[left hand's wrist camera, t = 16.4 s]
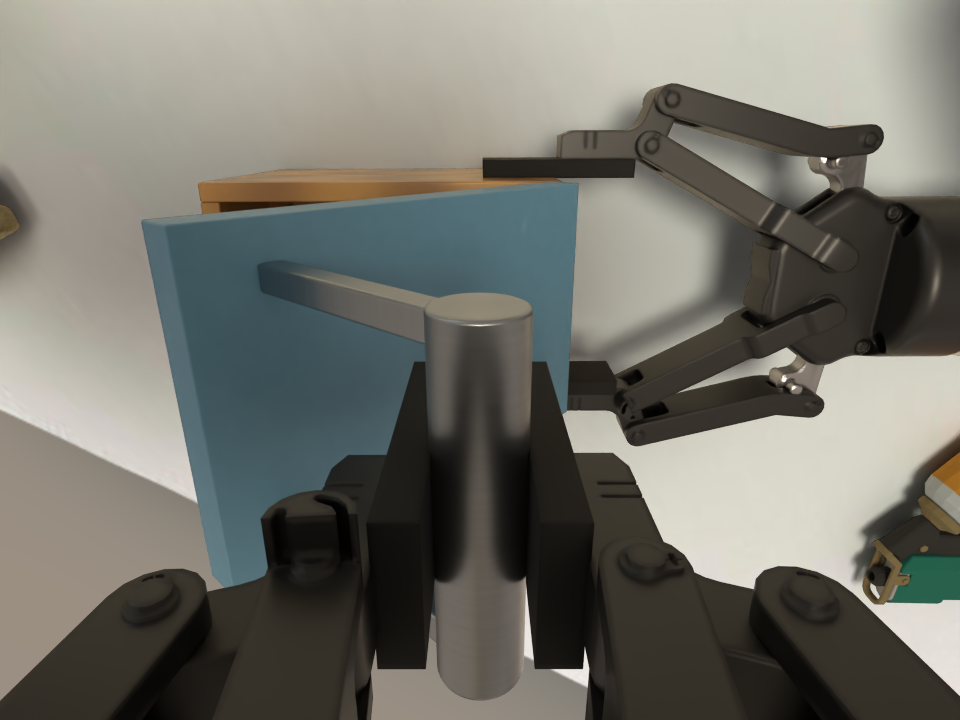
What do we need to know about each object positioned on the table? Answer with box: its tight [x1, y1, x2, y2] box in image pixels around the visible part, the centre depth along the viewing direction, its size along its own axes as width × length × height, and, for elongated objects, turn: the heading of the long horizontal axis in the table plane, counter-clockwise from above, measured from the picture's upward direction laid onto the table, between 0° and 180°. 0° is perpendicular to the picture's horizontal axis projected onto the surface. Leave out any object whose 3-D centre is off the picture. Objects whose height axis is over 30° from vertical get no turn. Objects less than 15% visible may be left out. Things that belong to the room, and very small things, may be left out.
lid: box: [141, 182, 578, 700], centre depth 17 cm, size 15×10×9 cm
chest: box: [198, 169, 561, 214], centre depth 30 cm, size 14×10×10 cm, turn 90°
